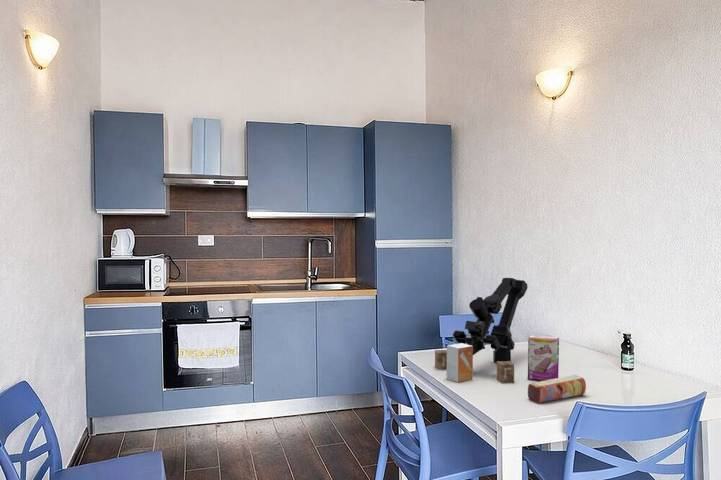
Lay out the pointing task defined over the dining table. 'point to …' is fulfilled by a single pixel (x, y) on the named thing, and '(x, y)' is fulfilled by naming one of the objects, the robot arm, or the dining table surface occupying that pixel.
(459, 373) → the small box
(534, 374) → the candy bar box
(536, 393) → the snack package
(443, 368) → the walnut block one
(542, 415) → the dining table surface
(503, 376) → the walnut block seven
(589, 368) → the dining table surface
